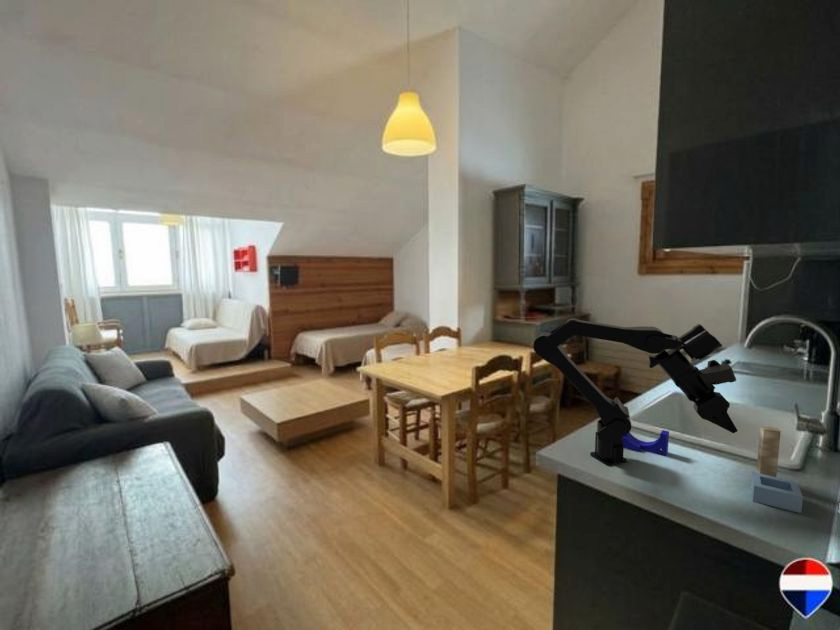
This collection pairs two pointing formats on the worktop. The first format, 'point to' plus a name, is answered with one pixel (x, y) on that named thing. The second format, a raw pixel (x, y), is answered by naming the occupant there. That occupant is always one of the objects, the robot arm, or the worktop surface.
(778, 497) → the blue-grey socket block
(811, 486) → the worktop surface
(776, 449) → the slat
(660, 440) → the cable clip
